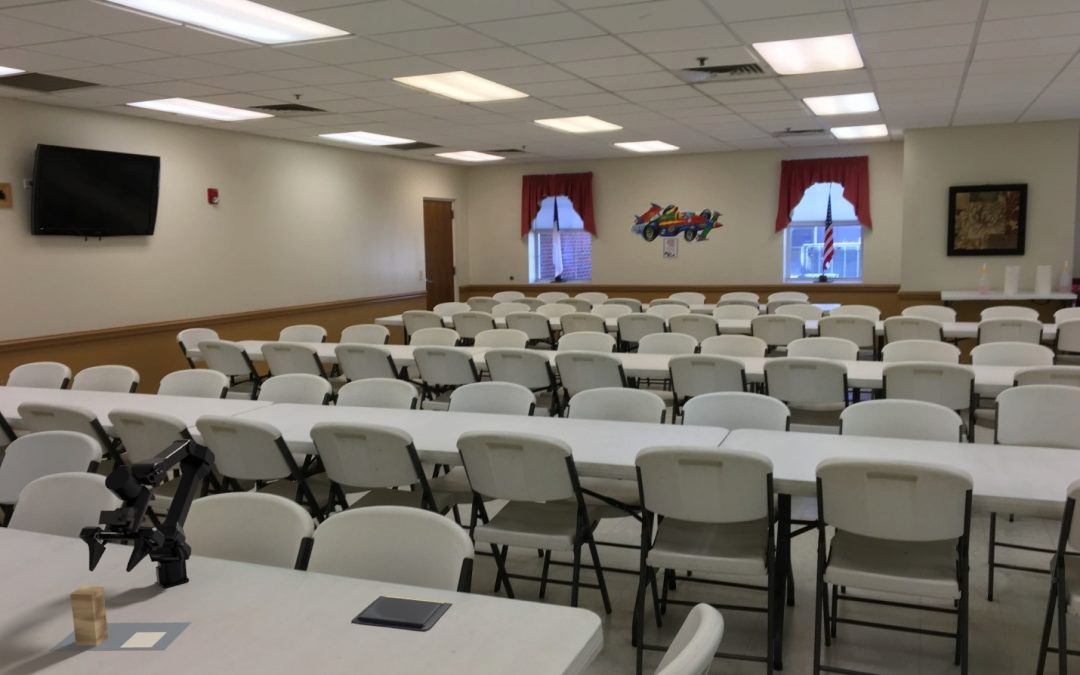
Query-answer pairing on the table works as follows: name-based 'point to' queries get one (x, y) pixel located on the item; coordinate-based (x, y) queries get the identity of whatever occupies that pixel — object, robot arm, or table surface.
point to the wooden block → (89, 616)
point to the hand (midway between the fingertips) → (109, 571)
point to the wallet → (402, 613)
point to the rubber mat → (130, 637)
